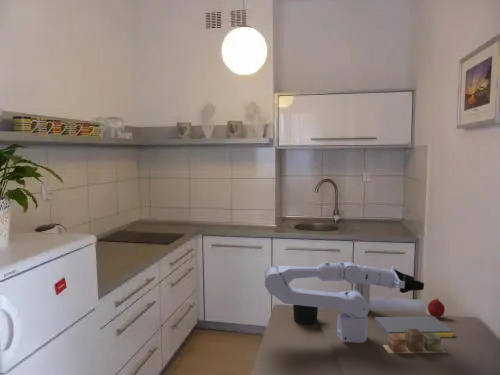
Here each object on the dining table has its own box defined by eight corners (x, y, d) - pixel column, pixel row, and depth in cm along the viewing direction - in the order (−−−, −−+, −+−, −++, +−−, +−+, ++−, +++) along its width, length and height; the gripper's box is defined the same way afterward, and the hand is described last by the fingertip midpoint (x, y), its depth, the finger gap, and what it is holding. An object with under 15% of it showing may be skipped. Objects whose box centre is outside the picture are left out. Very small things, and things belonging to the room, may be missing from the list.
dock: (388, 340, 125) (388, 332, 125) (374, 323, 138) (374, 317, 137) (453, 339, 126) (453, 331, 125) (433, 322, 138) (433, 316, 138)
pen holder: (319, 326, 136) (319, 299, 135) (293, 325, 136) (293, 298, 136) (316, 315, 145) (317, 290, 144) (292, 314, 146) (292, 289, 145)
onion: (446, 322, 139) (447, 301, 138) (429, 320, 140) (430, 300, 139) (441, 315, 145) (442, 295, 144) (425, 314, 146) (426, 294, 145)
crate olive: (427, 351, 116) (428, 339, 116) (421, 345, 120) (422, 333, 120) (440, 351, 116) (441, 338, 116) (433, 345, 120) (434, 333, 120)
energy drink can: (350, 310, 149) (351, 274, 148) (357, 306, 154) (358, 270, 153) (365, 315, 145) (366, 277, 144) (371, 310, 150) (372, 273, 149)
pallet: (388, 357, 115) (389, 335, 115) (382, 349, 120) (383, 328, 120) (446, 356, 116) (447, 334, 115) (437, 348, 121) (438, 327, 120)
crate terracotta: (393, 352, 115) (393, 339, 115) (387, 345, 119) (388, 333, 119) (405, 352, 116) (406, 339, 115) (400, 345, 120) (400, 333, 119)
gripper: (386, 269, 116) (430, 276, 116) (372, 260, 131) (411, 266, 130) (382, 291, 116) (426, 299, 116) (369, 280, 131) (407, 286, 130)
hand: (418, 283), depth 123 cm, fingers open, 7 cm apart
